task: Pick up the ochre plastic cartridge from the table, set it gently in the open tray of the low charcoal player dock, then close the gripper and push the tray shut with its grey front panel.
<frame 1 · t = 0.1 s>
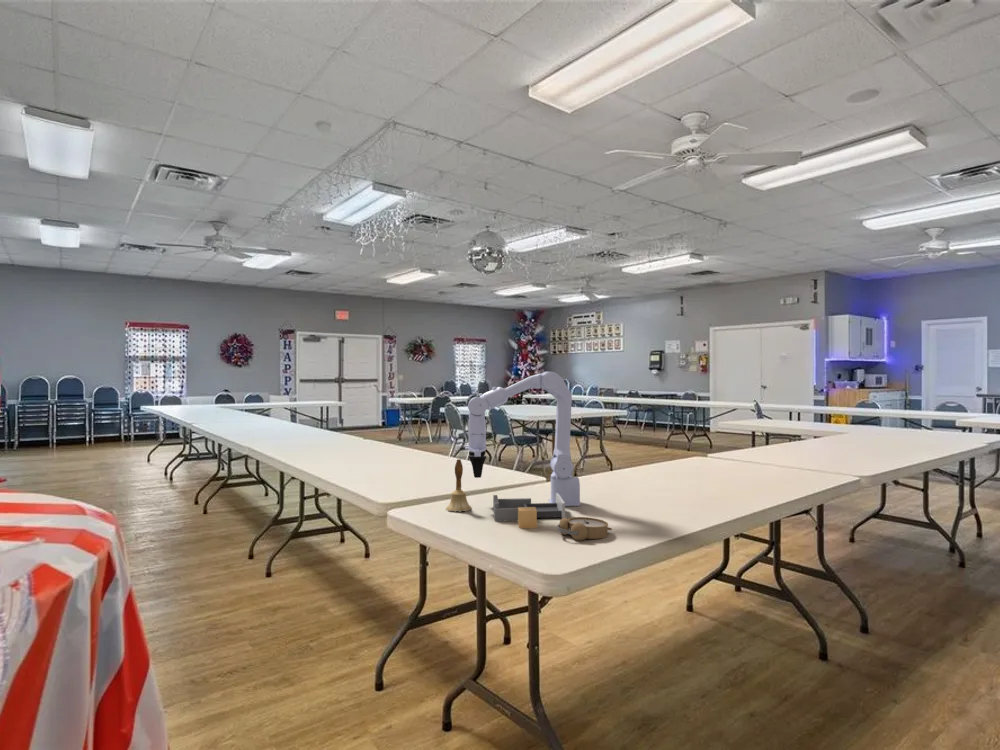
hand: (477, 475, 186), 10 cm above the table, tool pointing down, fingers open, 7 cm apart
tray: (543, 506, 175), point 3 cm above the table, slide at 8.0 cm
alarm clock: (582, 536, 154), on the table
cartridge: (527, 526, 162), on the table
player dock: (513, 514, 174), on the table
hand bell: (458, 509, 182), on the table
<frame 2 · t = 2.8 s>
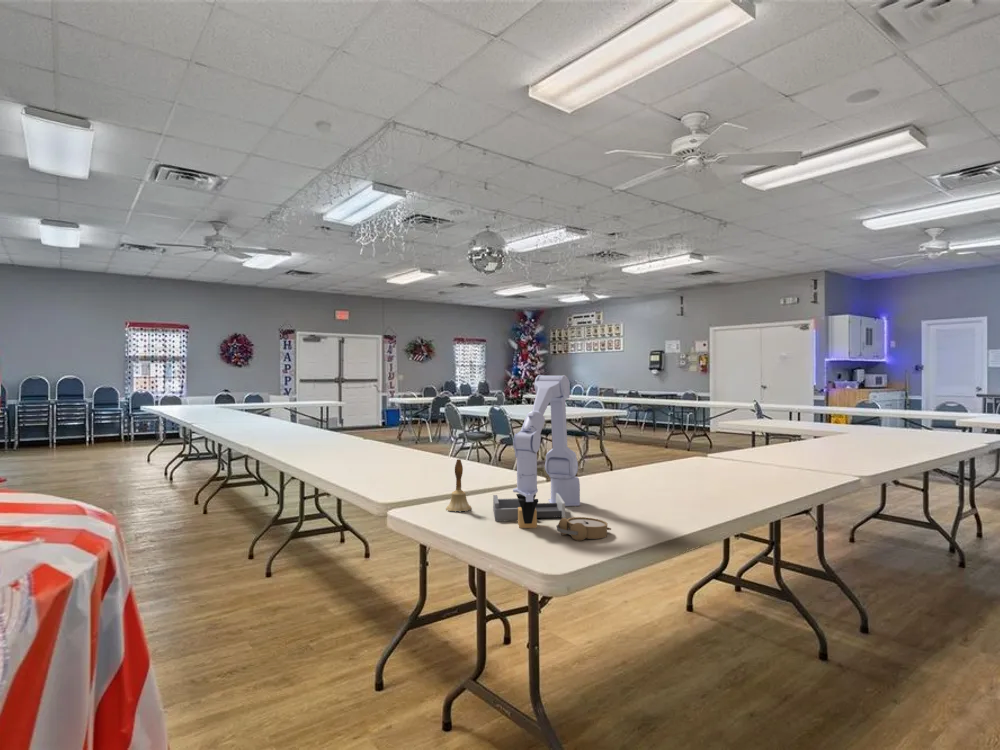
hand: (527, 520, 162), 1 cm above the table, tool pointing down, fingers closed on cartridge, 4 cm apart
cartridge: (527, 525, 162), on the table, touching gripper
everything else where it was.
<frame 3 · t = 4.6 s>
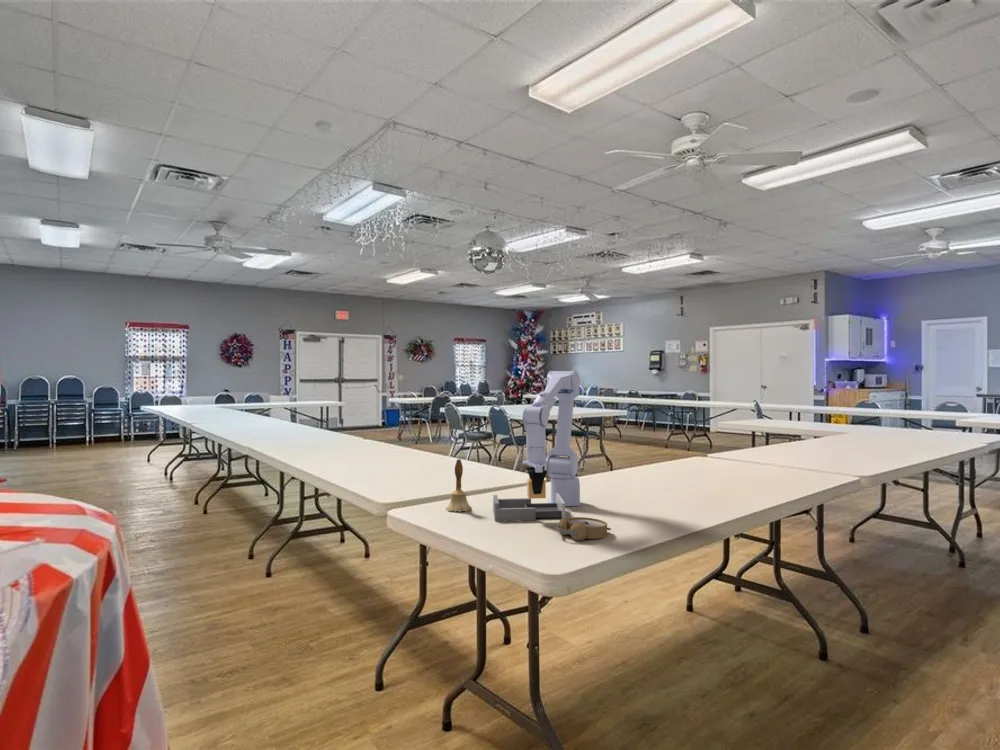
hand: (536, 491, 169), 8 cm above the table, tool pointing down, fingers closed on cartridge, 4 cm apart
cartridge: (536, 496, 169), point 7 cm above the table, touching gripper
everything else where it was.
when the fingers open (4 cm above the table, at t = 6.4 s): cartridge stays where it is, resting on tray.
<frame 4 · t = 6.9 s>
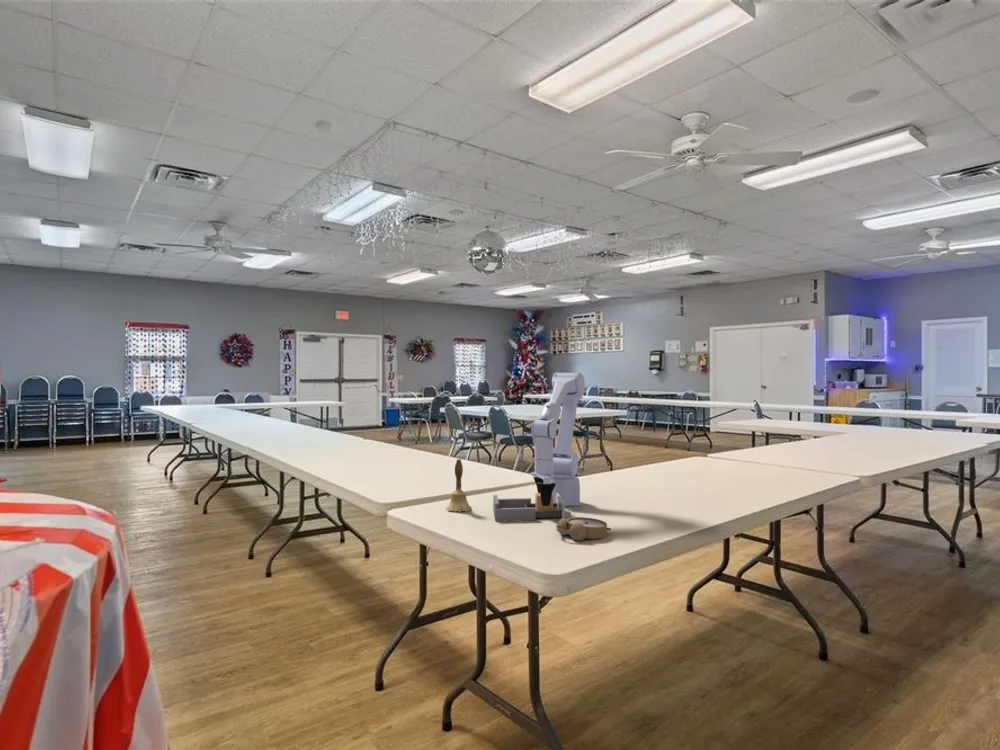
hand: (544, 502, 175), 4 cm above the table, tool pointing down, fingers open, 7 cm apart
tray: (543, 506, 175), point 3 cm above the table, slide at 8.0 cm, touching cartridge
cartridge: (544, 510, 175), point 1 cm above the table, touching tray
everything else where it was.
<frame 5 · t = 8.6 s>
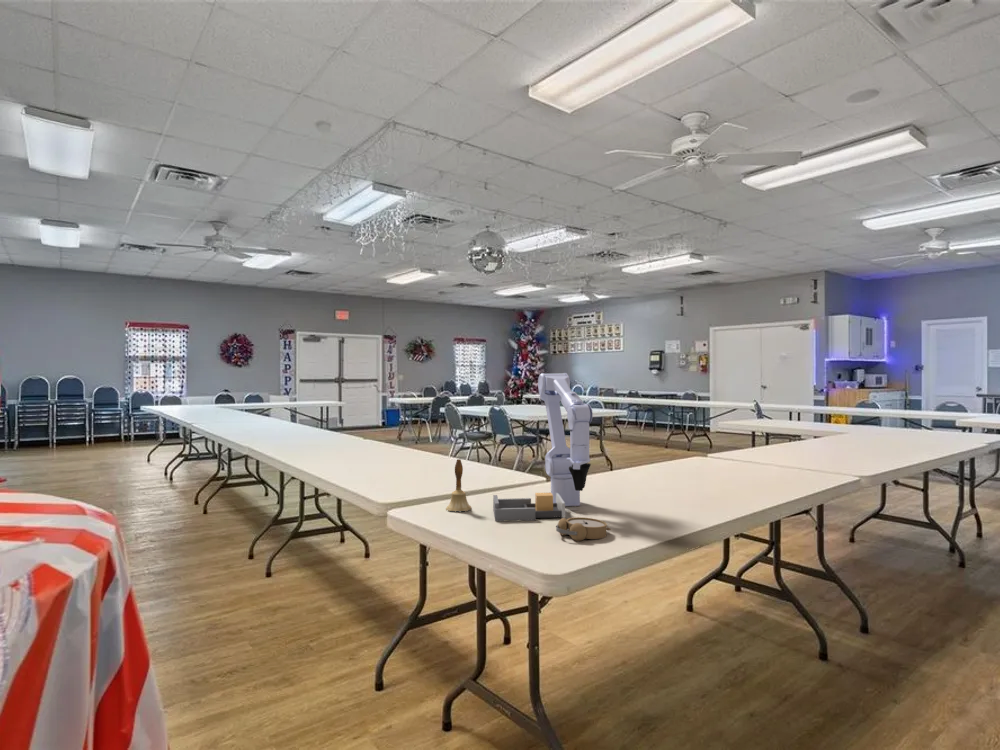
hand: (580, 488, 172), 8 cm above the table, tool pointing down, fingers open, 3 cm apart
nothing on the table moved.
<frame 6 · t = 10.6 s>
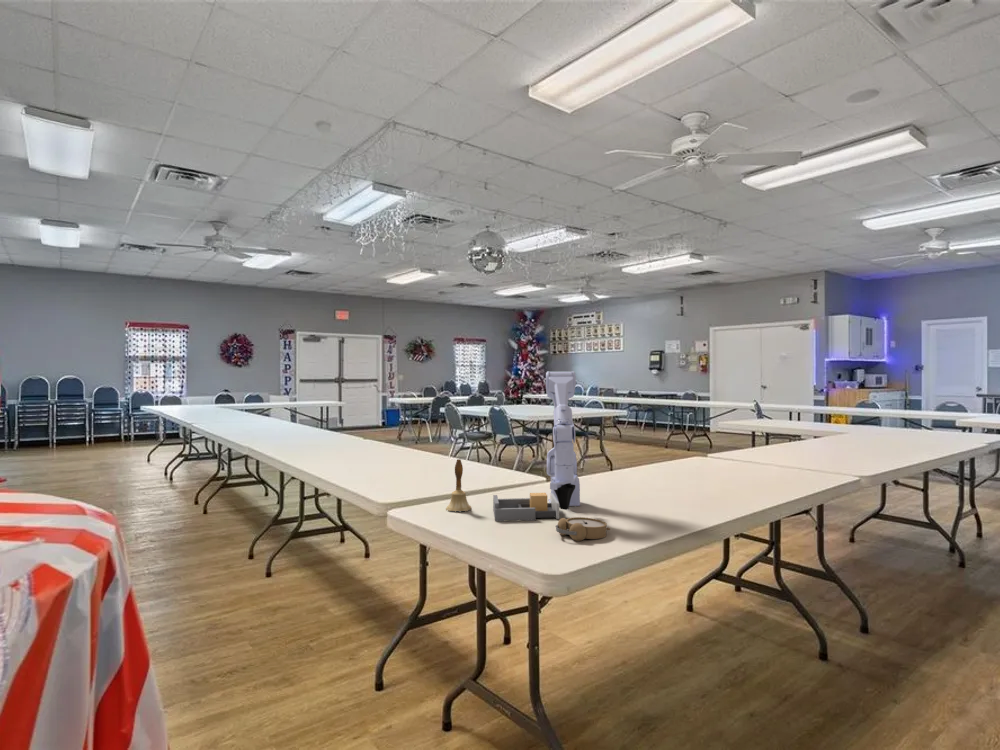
hand: (564, 508, 171), 2 cm above the table, tool pointing down, fingers closed
tray: (537, 506, 175), point 3 cm above the table, slide at 6.2 cm, touching cartridge, gripper
cartridge: (538, 510, 175), point 1 cm above the table, touching tray
everything else where it was.
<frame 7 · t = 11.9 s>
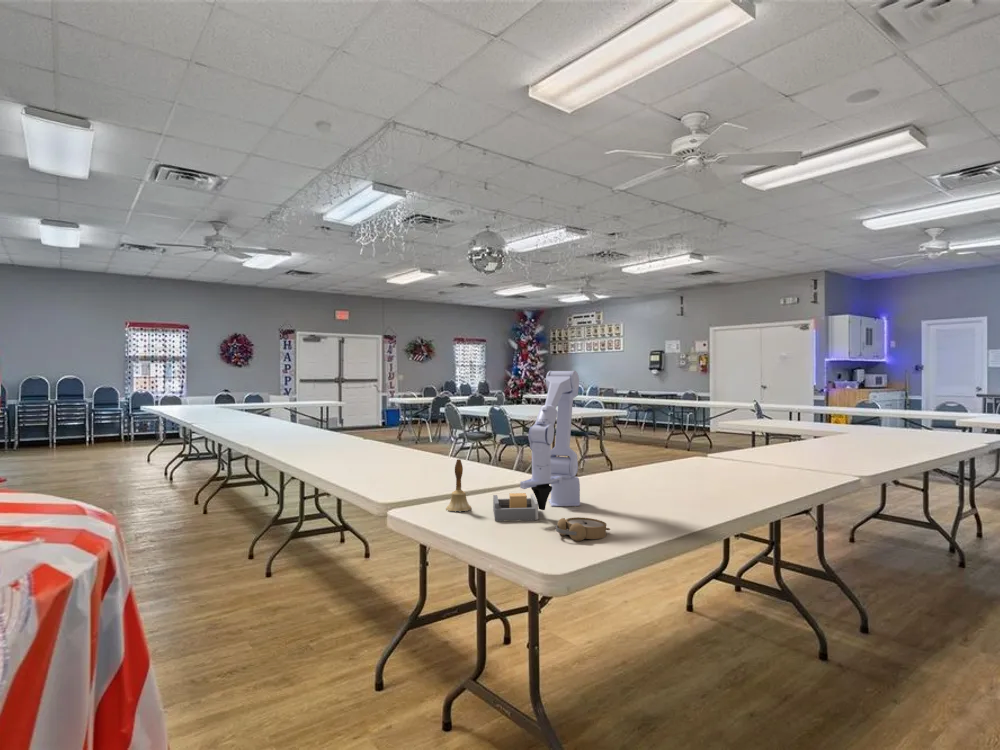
hand: (541, 509, 171), 2 cm above the table, tool pointing down, fingers closed
tray: (517, 506, 174), point 3 cm above the table, slide at -0.1 cm, touching cartridge, gripper, player dock
cartridge: (518, 510, 174), point 1 cm above the table, touching tray
everything else where it was.
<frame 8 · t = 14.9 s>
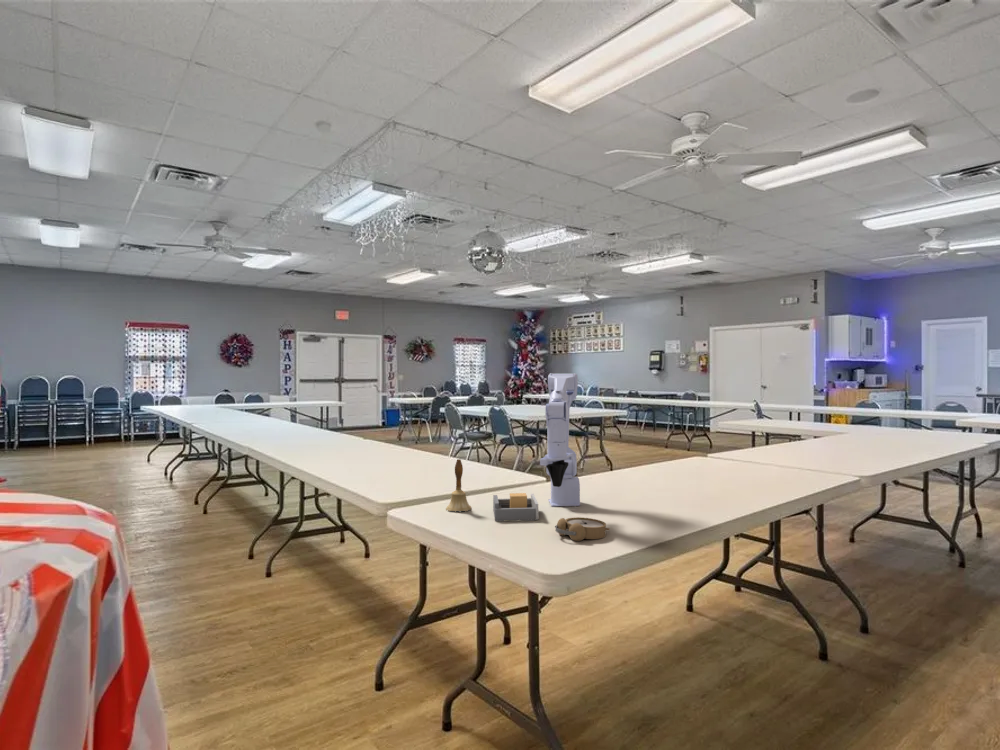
hand: (557, 486, 171), 9 cm above the table, tool pointing down, fingers closed
tray: (517, 506, 174), point 3 cm above the table, slide at 0.0 cm, touching cartridge
everything else where it was.
at the end: tray slide at 0.0 cm; cartridge inside the target area (1.0 cm from its centre), point 1.2 cm above the table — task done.
